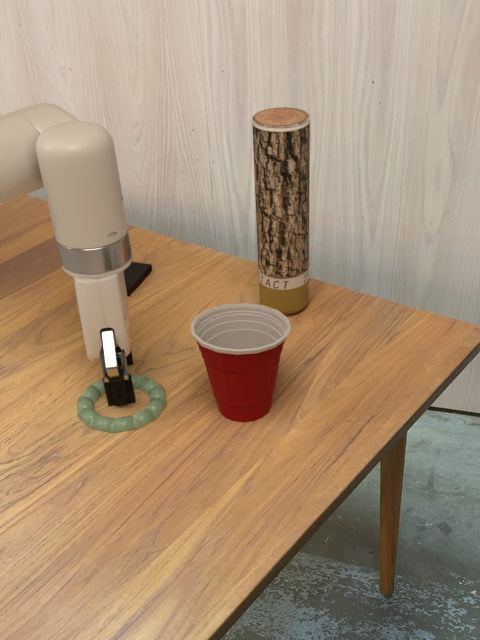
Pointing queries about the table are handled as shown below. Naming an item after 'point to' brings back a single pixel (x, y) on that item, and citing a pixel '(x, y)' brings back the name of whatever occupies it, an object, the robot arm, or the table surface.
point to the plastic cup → (241, 356)
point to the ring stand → (135, 275)
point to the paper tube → (282, 206)
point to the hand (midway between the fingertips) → (121, 383)
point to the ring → (123, 423)
